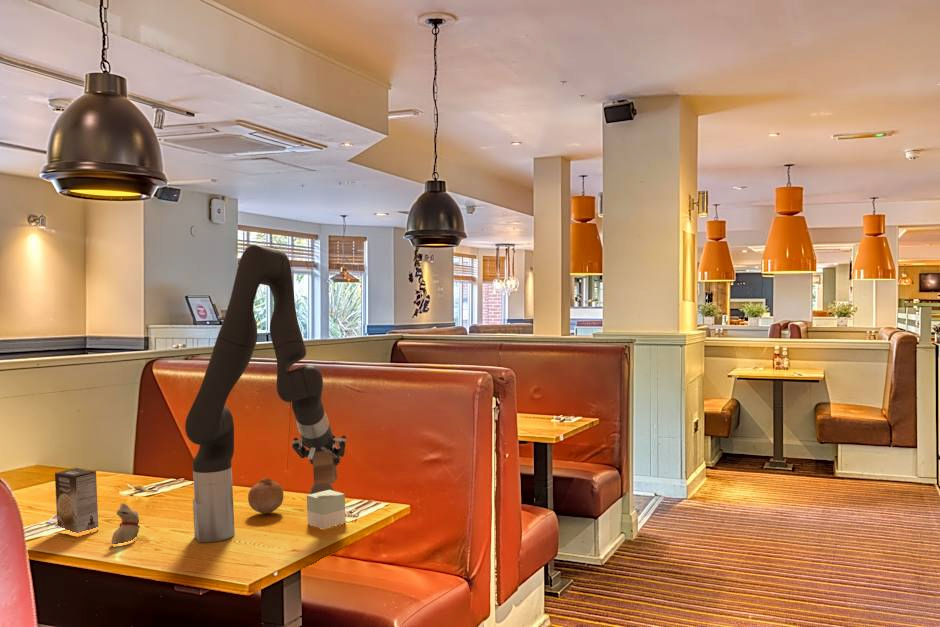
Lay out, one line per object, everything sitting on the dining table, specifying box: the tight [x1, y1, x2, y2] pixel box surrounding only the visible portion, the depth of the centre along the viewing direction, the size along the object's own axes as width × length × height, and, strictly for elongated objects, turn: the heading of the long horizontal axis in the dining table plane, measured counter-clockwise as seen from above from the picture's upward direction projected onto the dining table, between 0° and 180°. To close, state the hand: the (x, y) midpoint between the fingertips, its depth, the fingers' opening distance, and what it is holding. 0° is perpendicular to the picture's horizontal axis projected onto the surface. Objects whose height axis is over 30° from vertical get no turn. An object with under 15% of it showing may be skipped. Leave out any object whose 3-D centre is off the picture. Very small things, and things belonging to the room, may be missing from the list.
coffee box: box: [54, 467, 99, 533], centre depth 206 cm, size 9×6×16 cm
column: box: [312, 451, 338, 485], centre depth 205 cm, size 5×5×10 cm
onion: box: [247, 477, 284, 515], centre depth 216 cm, size 10×9×10 cm
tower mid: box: [306, 490, 346, 515], centre depth 205 cm, size 7×7×4 cm
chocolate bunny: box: [111, 502, 141, 544], centre depth 196 cm, size 6×8×10 cm
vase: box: [309, 483, 335, 495], centre depth 221 cm, size 7×7×9 cm
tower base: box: [306, 508, 347, 530], centre depth 205 cm, size 7×7×4 cm
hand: (326, 462), depth 206 cm, fingers closed on column, 5 cm apart
